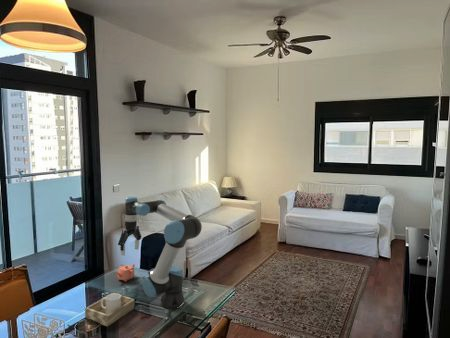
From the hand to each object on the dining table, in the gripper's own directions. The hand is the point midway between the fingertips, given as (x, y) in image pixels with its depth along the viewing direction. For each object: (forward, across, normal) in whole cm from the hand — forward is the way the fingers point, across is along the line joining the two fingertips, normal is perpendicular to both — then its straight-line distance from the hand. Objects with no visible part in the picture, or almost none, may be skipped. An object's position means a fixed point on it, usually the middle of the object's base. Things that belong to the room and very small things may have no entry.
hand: (129, 252), depth 213 cm
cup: (+28, +24, +7) cm, 38 cm away
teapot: (+29, -17, -17) cm, 38 cm away
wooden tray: (+29, +24, +7) cm, 38 cm away
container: (+29, -22, +7) cm, 37 cm away
